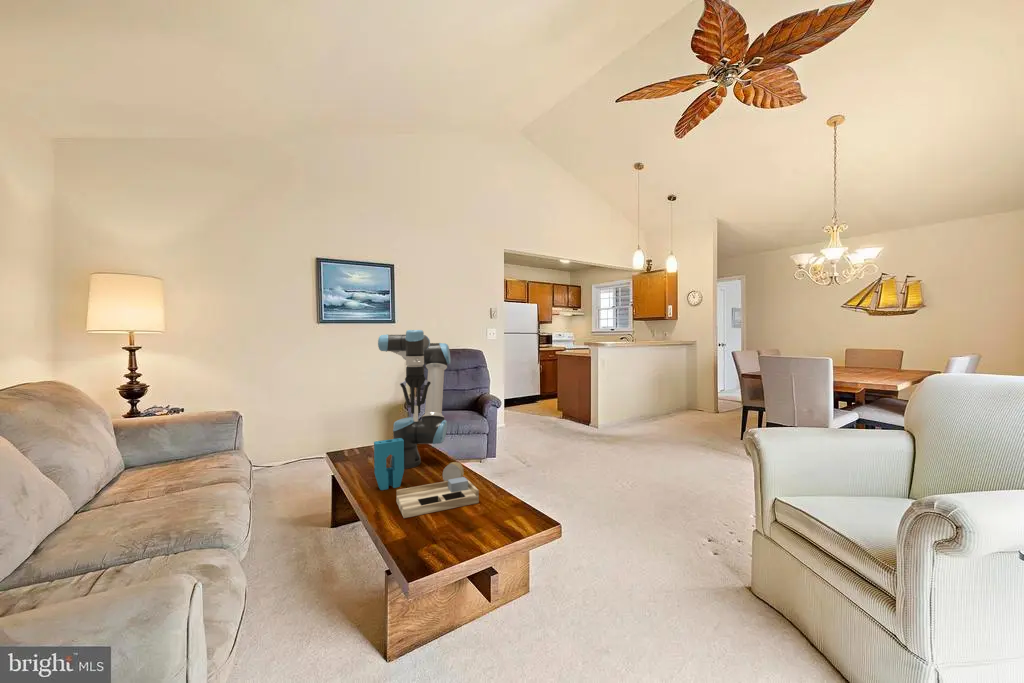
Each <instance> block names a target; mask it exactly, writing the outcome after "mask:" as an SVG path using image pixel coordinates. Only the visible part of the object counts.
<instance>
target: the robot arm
mask: <svg viewBox="0 0 1024 683" xmlns="http://www.w3.org/2000/svg"><path fill="white" fill-rule="evenodd" d="M377 339H378V340H377V347H378V350H379V351H381V352H391V353H394V354H396V355H398V356H401V358H402V359H403V360H405V366H406V367H405V377H404V380H403V381H402V382H400V383H399V386H400V387H401V388H402V392H403V396H404V400H405V403H406V405H407V406H410V413H411V415H413V416H411V417H410V416H409V417H404V418H400V419H397V420H396V421H394V422H393V426H392V427H393V429H392V431H393V432H392V434H393V437H392V439H397V438H402V439H403V440H404V470H406V469H411V468H412V469H413V468H416V467H418V466H420V464H421V462H422V461H421V456H420V452H419V450H418V445H429V444H431V445H436V444H437V445H438V444H442V443H443V442H444V441H445V439H446V437H447V431H448V421H447V420H446V419H445V416H444V415H443V413H442V412H443V399H444V395H443V394H444V379H445V371H446V370H447V369H448V365H451V363H452V362H451V361H452V360H451V352H450V346H449V345H448V344H447V343H446V342H431V340H430V338H429V337H428V336H427V335H425V334H424V330H422V329H408V330H406V332H405V334H387V333H386V334H381V335H379V337H378V338H377ZM424 365H425V366H424ZM425 368H426V370H427V379H426V377H425ZM422 385H424V386H423V390H422V394H421V387H422ZM406 386H408V387H409V392H410V393H408V390H407V387H406ZM415 392H416V393H415ZM409 394H410V395H409ZM415 394H416V395H415ZM409 396H410V397H409ZM415 397H416V404H415ZM424 404H425V407H424V408H425V411H424V414H423V415H421V420H419V414H420V413H421V406H422V405H424ZM389 466H390V467H392V456H391V457H390V460H389Z"/></svg>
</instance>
